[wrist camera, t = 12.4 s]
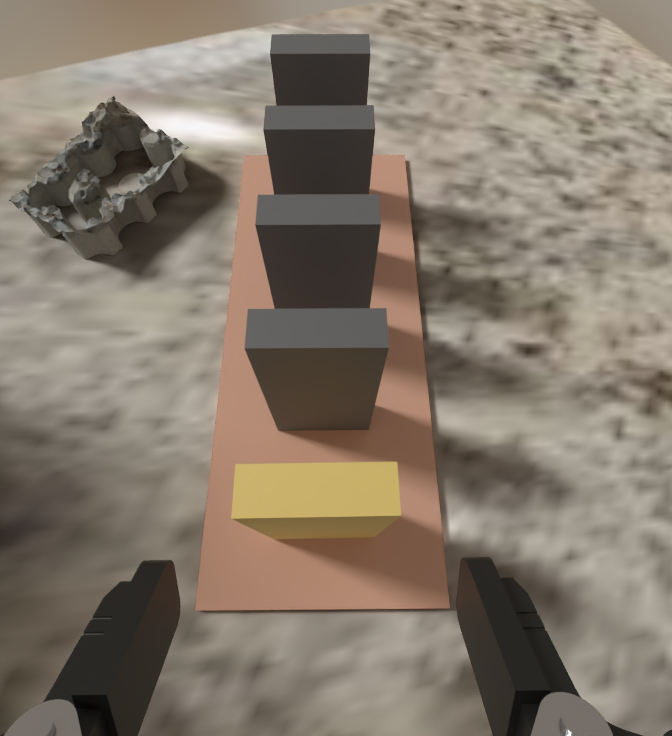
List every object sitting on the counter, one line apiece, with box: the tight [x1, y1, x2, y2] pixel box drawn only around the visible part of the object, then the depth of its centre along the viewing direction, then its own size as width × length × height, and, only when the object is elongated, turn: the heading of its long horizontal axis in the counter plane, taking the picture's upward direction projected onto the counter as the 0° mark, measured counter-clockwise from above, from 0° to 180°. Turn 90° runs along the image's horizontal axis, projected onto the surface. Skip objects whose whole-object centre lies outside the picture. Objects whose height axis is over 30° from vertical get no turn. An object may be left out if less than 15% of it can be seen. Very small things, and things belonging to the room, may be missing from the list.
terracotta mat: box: [195, 155, 450, 611], centre depth 27 cm, size 30×12×1 cm, turn 0°
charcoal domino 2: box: [264, 105, 375, 195], centre depth 25 cm, size 2×5×10 cm, turn 90°
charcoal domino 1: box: [270, 34, 370, 106], centre depth 27 cm, size 2×5×10 cm, turn 91°
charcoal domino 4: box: [244, 308, 389, 431], centre depth 20 cm, size 2×5×10 cm, turn 91°
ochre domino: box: [231, 462, 401, 539], centre depth 18 cm, size 2×5×10 cm, turn 91°
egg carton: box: [9, 96, 189, 259], centre depth 30 cm, size 11×8×4 cm
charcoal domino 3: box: [255, 194, 381, 309], centre depth 22 cm, size 2×5×10 cm, turn 90°
